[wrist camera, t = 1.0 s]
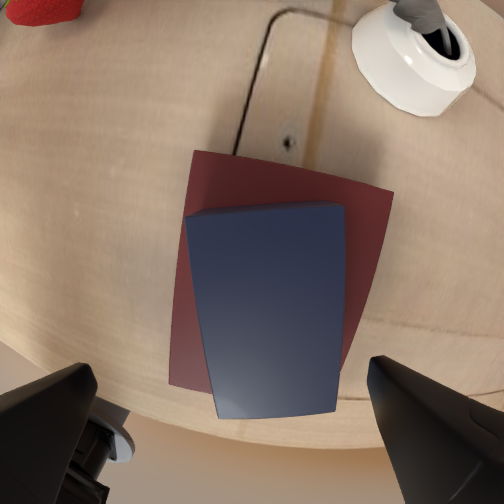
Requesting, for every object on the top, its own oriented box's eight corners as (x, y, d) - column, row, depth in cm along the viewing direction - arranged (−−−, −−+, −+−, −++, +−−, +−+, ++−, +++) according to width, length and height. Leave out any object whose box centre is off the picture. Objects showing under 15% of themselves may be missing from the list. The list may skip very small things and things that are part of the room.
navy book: (325, 376, 17) (335, 412, 13) (224, 382, 17) (217, 419, 14) (326, 200, 14) (345, 204, 11) (200, 209, 15) (182, 216, 11)
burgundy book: (318, 383, 20) (324, 408, 18) (178, 361, 20) (168, 384, 17) (374, 190, 17) (394, 192, 14) (204, 155, 17) (193, 149, 14)
